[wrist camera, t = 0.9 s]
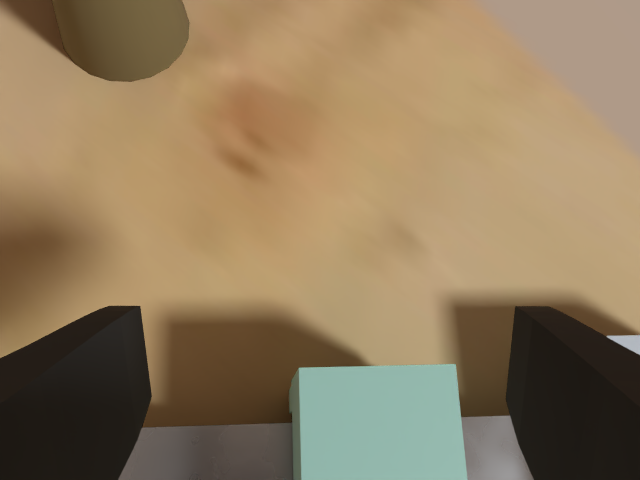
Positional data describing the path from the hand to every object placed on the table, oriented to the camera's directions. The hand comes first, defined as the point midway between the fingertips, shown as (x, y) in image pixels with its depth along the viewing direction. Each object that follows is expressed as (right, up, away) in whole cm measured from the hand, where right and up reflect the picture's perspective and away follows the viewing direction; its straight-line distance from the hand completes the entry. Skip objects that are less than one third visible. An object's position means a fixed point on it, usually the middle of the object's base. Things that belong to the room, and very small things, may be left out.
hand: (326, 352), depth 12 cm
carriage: (+1, -7, +12) cm, 14 cm away
